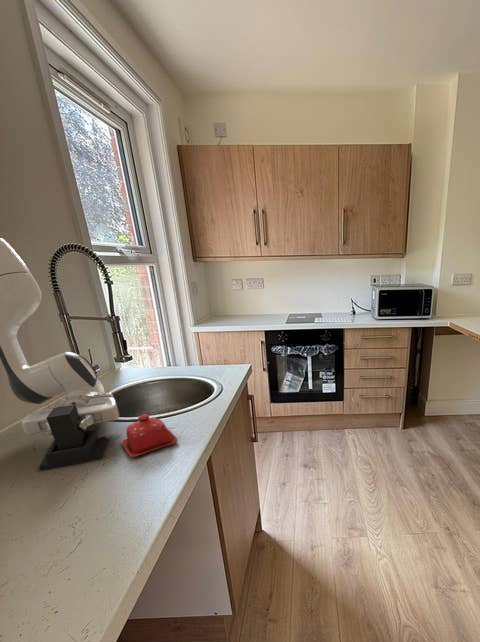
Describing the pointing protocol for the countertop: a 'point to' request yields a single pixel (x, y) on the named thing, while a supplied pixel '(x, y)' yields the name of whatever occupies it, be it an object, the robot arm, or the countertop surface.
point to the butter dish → (147, 436)
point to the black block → (66, 427)
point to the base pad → (75, 452)
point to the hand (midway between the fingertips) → (66, 429)
